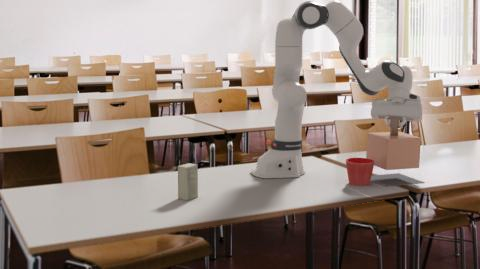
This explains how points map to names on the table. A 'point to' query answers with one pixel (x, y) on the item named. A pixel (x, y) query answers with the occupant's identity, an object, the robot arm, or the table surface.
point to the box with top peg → (393, 148)
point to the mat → (394, 180)
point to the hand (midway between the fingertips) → (394, 127)
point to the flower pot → (359, 171)
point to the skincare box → (187, 181)
